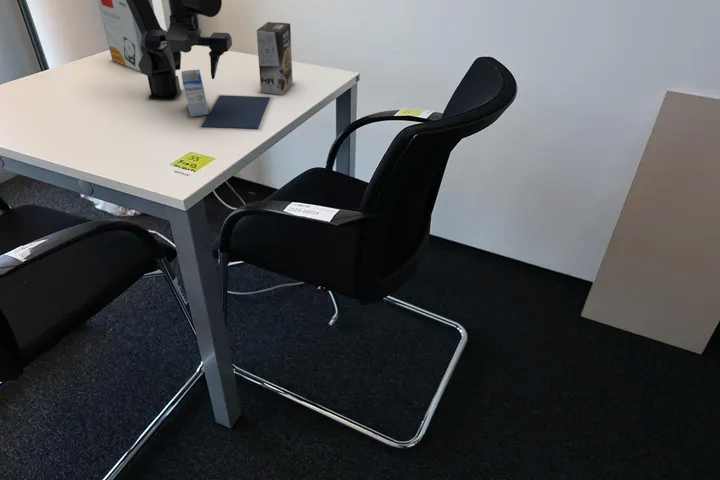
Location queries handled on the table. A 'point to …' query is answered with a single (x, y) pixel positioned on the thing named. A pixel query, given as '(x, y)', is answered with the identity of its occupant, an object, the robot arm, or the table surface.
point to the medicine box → (194, 92)
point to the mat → (236, 112)
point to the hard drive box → (122, 32)
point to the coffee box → (275, 57)
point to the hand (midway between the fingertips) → (193, 77)
